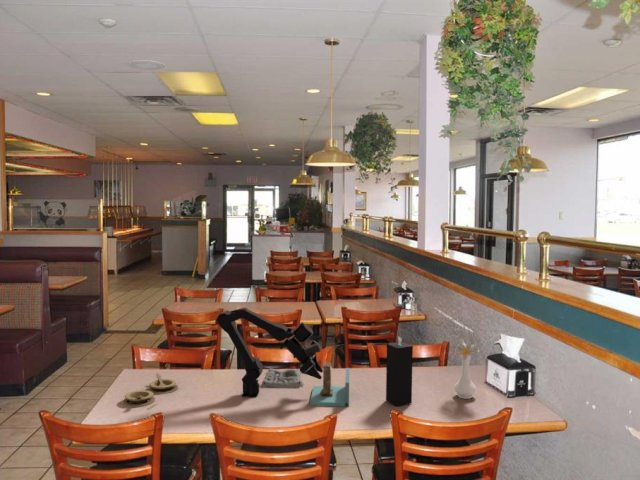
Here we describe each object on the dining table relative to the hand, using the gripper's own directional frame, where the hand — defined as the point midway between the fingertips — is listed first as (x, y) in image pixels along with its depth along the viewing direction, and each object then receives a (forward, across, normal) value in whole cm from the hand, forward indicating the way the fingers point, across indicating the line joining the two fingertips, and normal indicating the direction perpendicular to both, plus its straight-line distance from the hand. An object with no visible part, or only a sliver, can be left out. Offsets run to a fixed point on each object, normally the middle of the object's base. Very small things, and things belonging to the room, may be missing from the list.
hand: (321, 375), depth 236 cm
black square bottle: (+30, -4, -17) cm, 34 cm away
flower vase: (+50, +6, -37) cm, 63 cm away
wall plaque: (-6, +22, +21) cm, 31 cm away
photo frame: (+8, 0, +4) cm, 8 cm away
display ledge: (+10, 0, +4) cm, 10 cm away
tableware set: (-44, -3, +60) cm, 75 cm away
